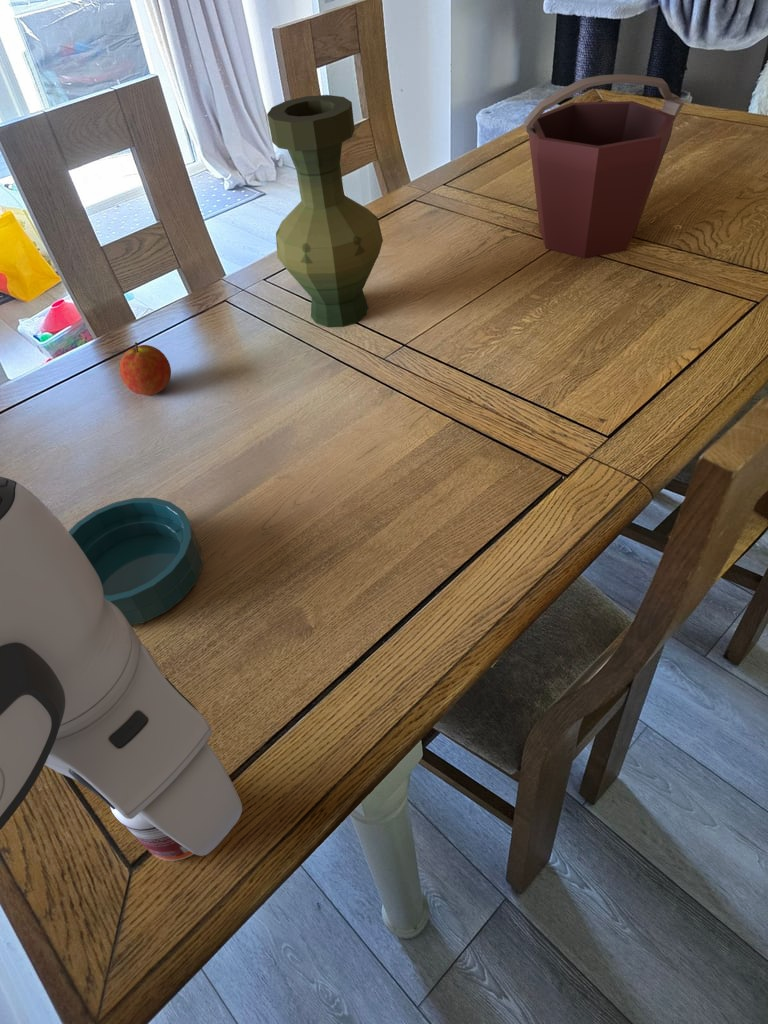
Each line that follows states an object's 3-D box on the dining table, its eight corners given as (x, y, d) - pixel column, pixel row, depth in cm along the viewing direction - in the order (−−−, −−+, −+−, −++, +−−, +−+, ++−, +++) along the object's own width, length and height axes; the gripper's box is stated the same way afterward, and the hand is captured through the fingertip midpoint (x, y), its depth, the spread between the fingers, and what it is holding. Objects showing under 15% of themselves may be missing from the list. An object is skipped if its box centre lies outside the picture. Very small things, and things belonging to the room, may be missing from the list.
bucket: (658, 211, 129) (688, 54, 111) (662, 268, 114) (698, 97, 96) (524, 210, 134) (532, 60, 116) (512, 264, 120) (519, 102, 102)
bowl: (152, 647, 70) (135, 618, 67) (43, 609, 75) (21, 580, 71) (228, 544, 79) (216, 513, 76) (126, 516, 84) (111, 486, 80)
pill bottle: (154, 787, 60) (106, 726, 52) (224, 785, 59) (187, 723, 52) (135, 865, 55) (80, 811, 48) (211, 863, 55) (168, 808, 47)
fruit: (165, 406, 99) (146, 358, 94) (121, 403, 101) (100, 356, 95) (184, 378, 104) (167, 330, 98) (142, 375, 105) (123, 329, 100)
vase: (327, 350, 106) (291, 138, 84) (271, 314, 115) (226, 114, 94) (409, 309, 112) (395, 102, 91) (350, 277, 121) (324, 82, 100)
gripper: (-55, 641, 45) (41, 736, 55) (139, 831, 36) (213, 905, 46) (28, 577, 49) (105, 678, 59) (227, 735, 39) (278, 824, 49)
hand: (154, 779), depth 52 cm, fingers open, 8 cm apart
